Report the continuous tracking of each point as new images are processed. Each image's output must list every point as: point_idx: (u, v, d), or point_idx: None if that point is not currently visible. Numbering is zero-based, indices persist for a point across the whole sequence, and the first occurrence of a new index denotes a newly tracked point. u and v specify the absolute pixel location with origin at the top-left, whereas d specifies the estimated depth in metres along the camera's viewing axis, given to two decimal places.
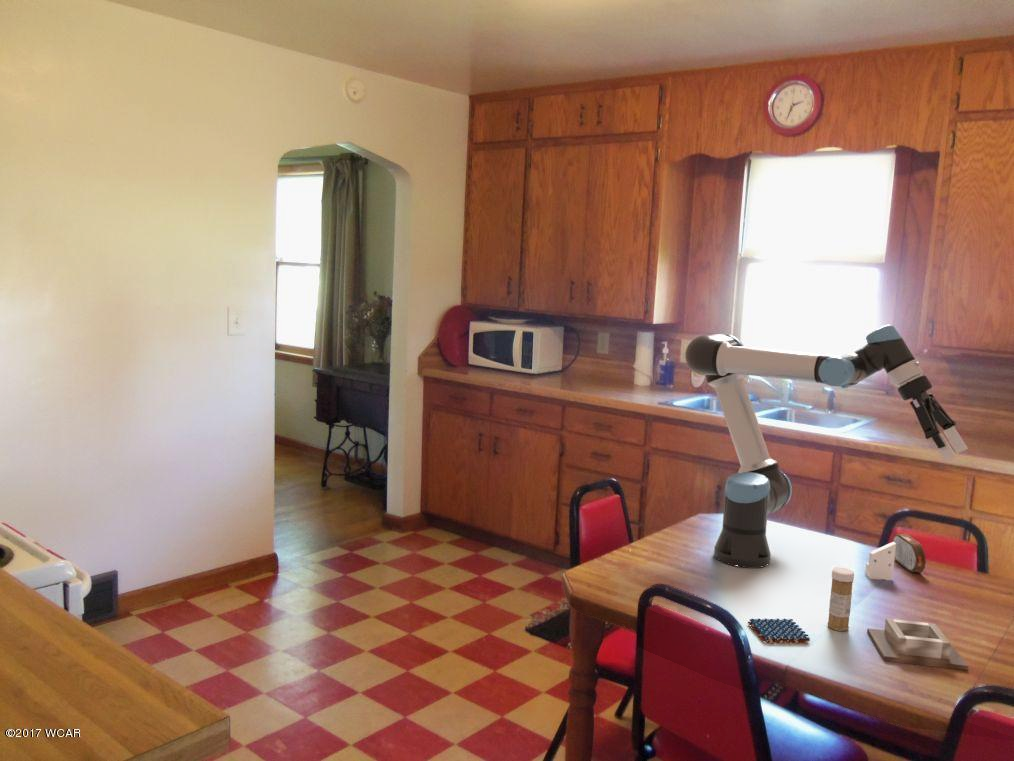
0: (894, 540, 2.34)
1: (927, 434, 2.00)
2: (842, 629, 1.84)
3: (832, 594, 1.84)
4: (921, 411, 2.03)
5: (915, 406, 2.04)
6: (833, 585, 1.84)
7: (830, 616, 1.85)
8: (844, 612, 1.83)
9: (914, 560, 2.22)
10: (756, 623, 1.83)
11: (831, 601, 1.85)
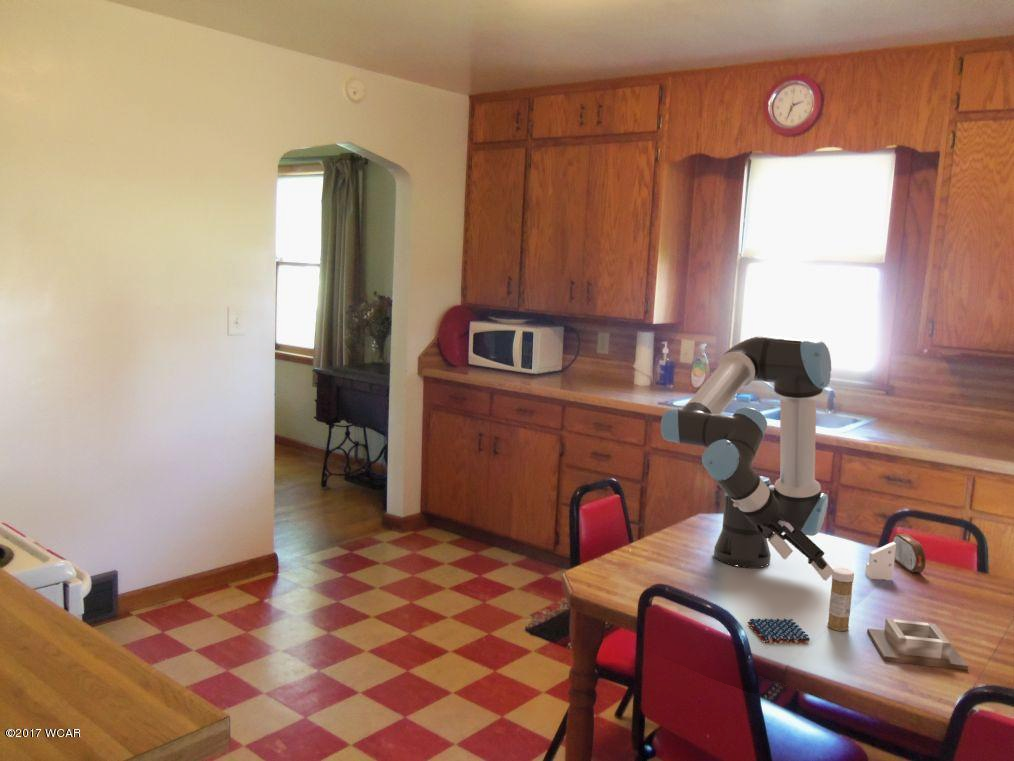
0: (894, 540, 2.34)
1: None
2: (842, 629, 1.84)
3: (832, 594, 1.84)
4: None
5: None
6: (833, 585, 1.84)
7: (830, 616, 1.85)
8: (844, 612, 1.83)
9: (914, 560, 2.22)
10: None
11: (831, 601, 1.85)
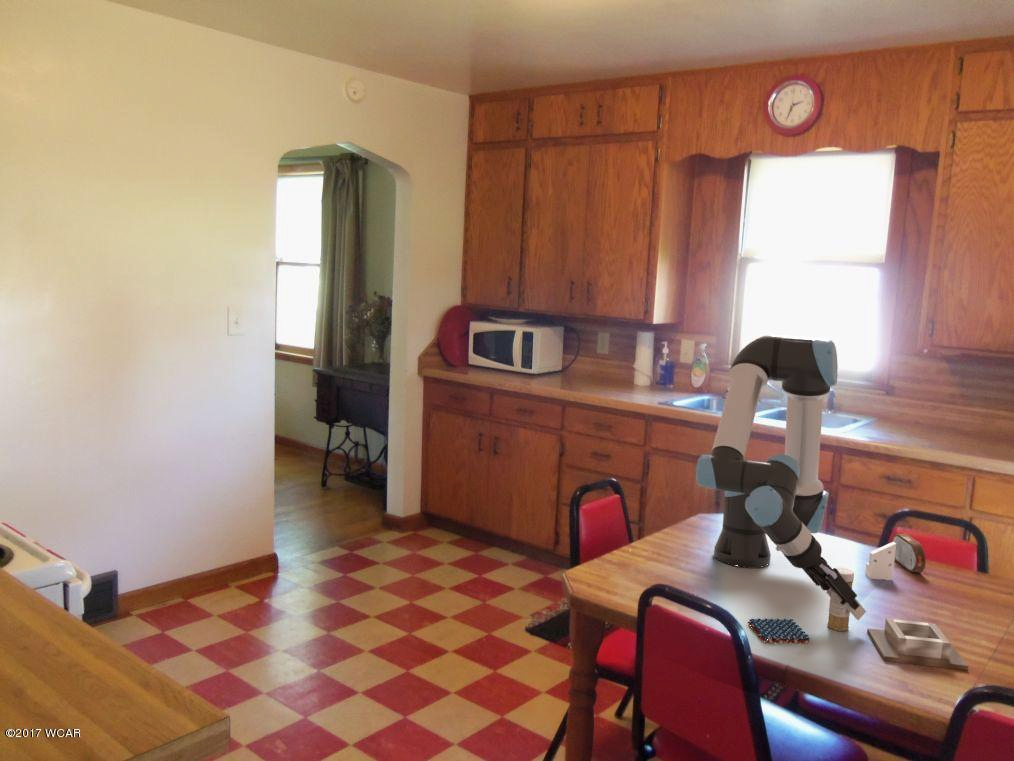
0: (894, 540, 2.34)
1: None
2: (842, 629, 1.84)
3: (832, 593, 1.84)
4: None
5: None
6: None
7: (830, 616, 1.85)
8: (844, 612, 1.83)
9: (914, 560, 2.22)
10: None
11: (831, 601, 1.85)
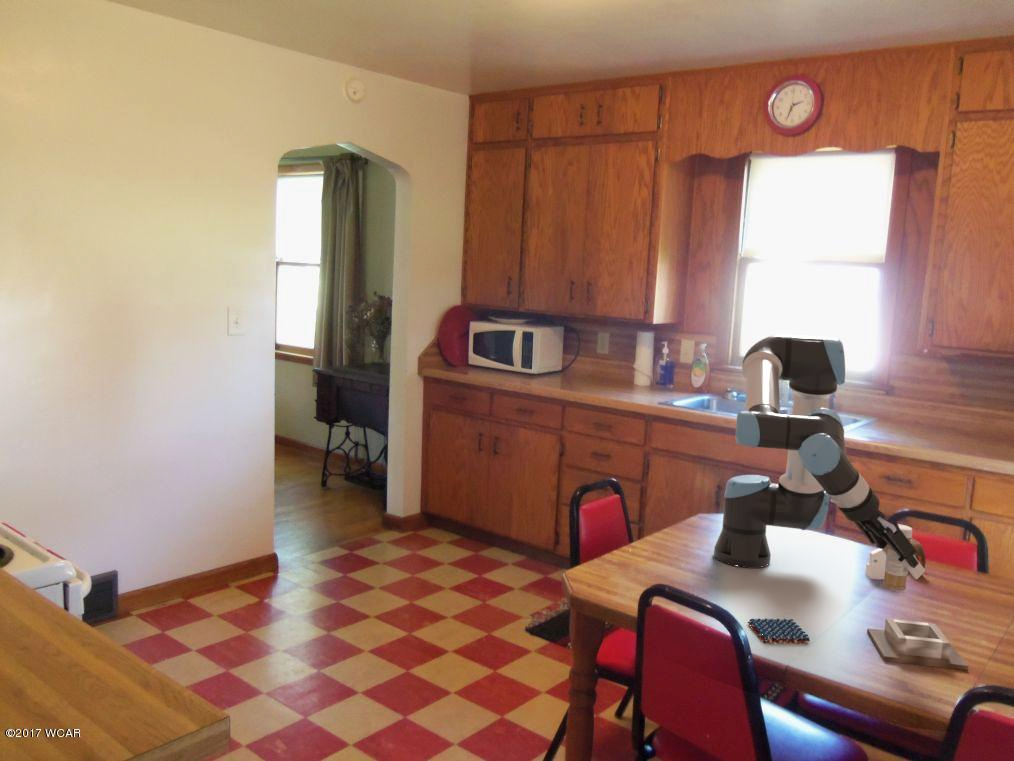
0: None
1: None
2: (899, 588, 1.74)
3: (888, 551, 1.75)
4: None
5: None
6: None
7: (886, 575, 1.75)
8: (902, 570, 1.73)
9: None
10: None
11: (887, 559, 1.75)
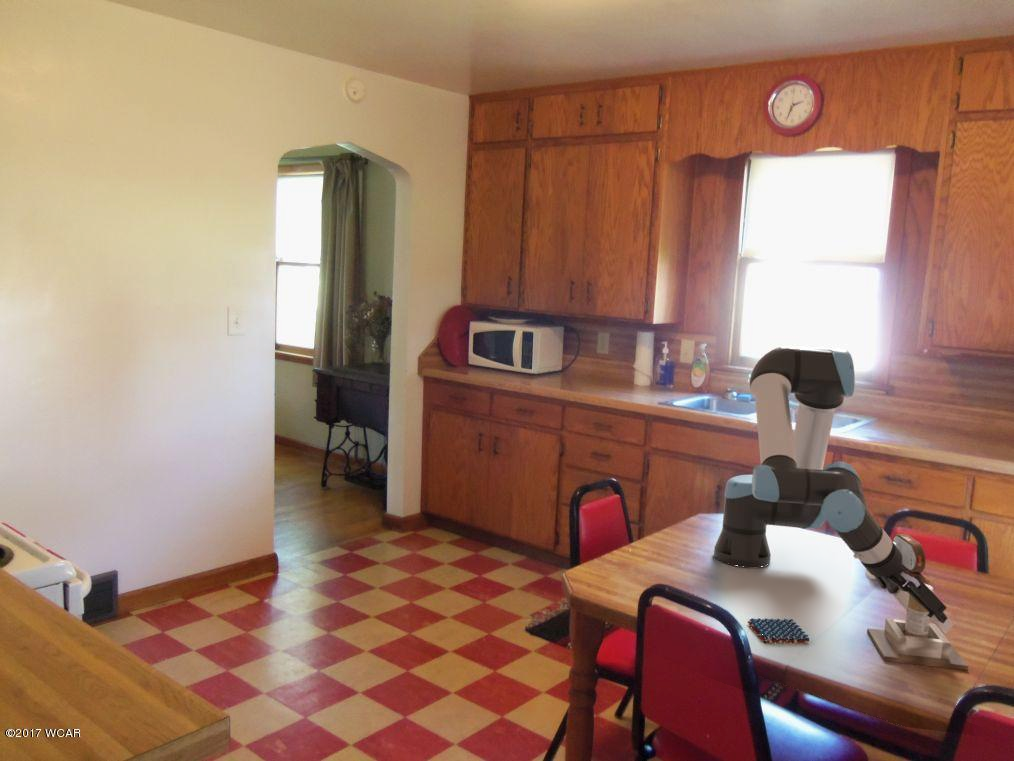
0: (894, 540, 2.34)
1: None
2: None
3: (909, 610, 1.74)
4: None
5: None
6: (911, 601, 1.74)
7: (907, 634, 1.75)
8: (923, 629, 1.73)
9: (914, 560, 2.22)
10: None
11: (908, 618, 1.74)
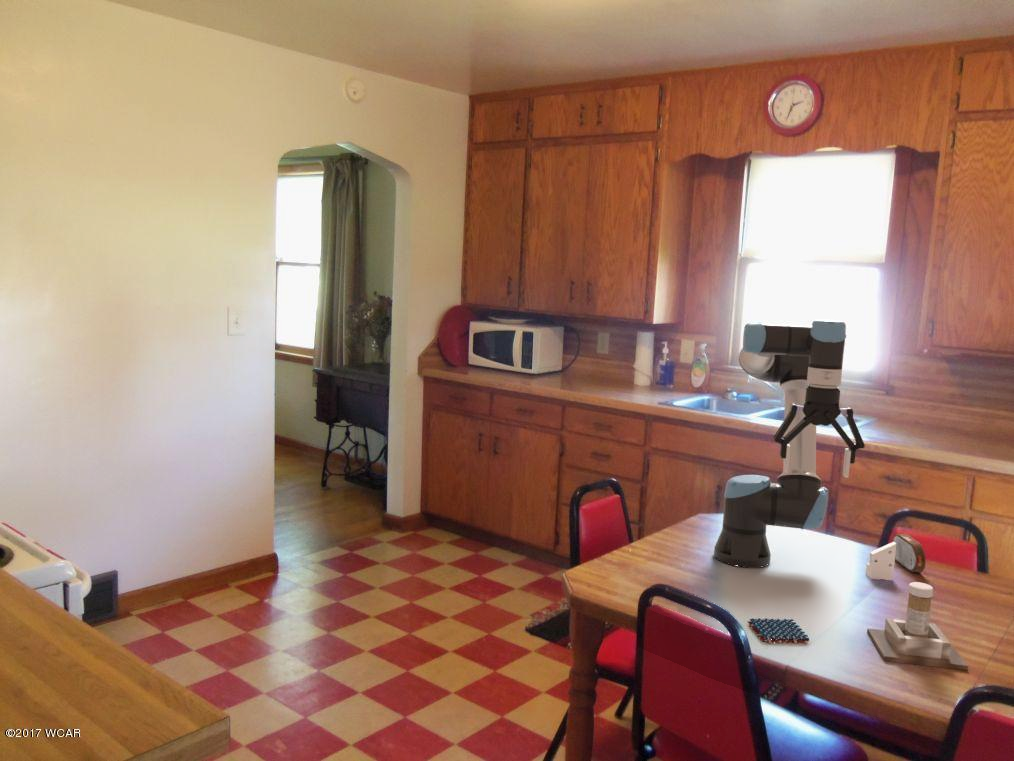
0: (894, 540, 2.34)
1: None
2: None
3: (909, 610, 1.74)
4: (787, 417, 1.96)
5: (790, 410, 1.96)
6: (911, 601, 1.74)
7: (907, 634, 1.75)
8: (923, 629, 1.73)
9: (914, 560, 2.22)
10: None
11: (908, 618, 1.74)
